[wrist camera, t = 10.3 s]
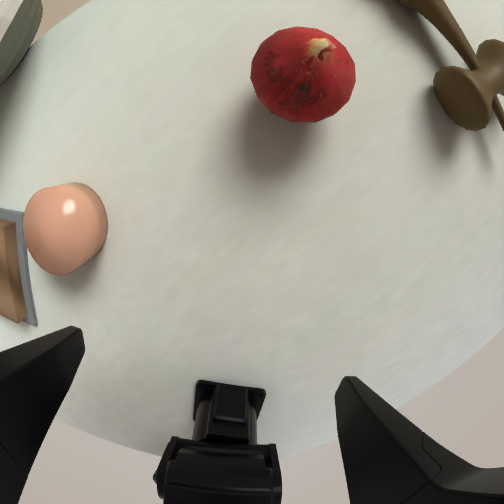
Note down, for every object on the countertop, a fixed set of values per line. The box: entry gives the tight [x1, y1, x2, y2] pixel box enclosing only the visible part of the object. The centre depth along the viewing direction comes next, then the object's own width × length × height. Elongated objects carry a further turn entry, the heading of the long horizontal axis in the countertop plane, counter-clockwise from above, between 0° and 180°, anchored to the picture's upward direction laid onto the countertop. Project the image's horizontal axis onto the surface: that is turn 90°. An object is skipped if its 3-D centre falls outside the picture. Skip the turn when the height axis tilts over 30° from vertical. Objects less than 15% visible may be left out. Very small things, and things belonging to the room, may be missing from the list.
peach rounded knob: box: [23, 183, 108, 275], centre depth 18 cm, size 6×6×4 cm
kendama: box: [400, 0, 504, 131], centre depth 12 cm, size 6×10×20 cm
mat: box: [0, 208, 38, 326], centre depth 20 cm, size 12×9×1 cm
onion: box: [250, 27, 356, 123], centre depth 13 cm, size 6×6×8 cm
